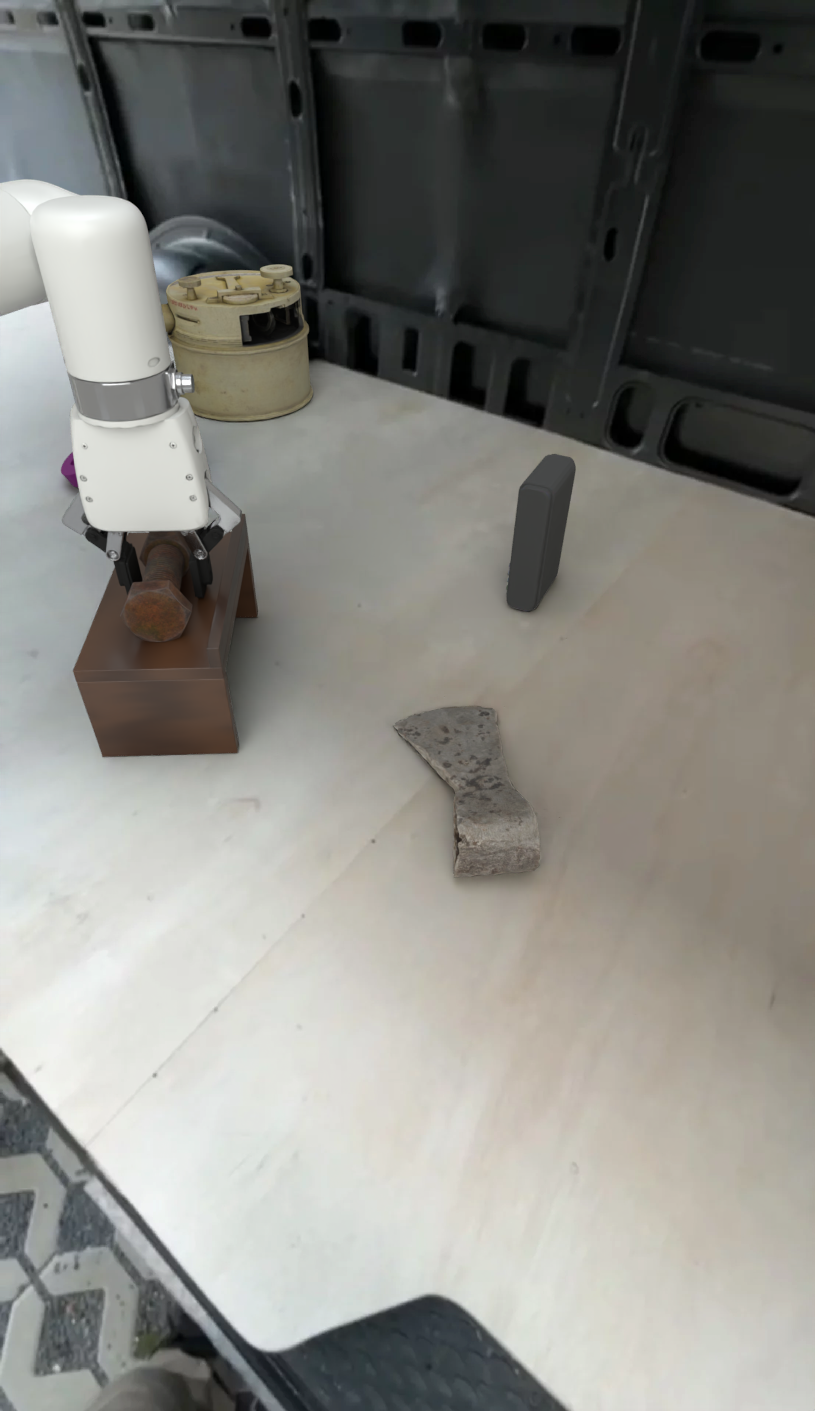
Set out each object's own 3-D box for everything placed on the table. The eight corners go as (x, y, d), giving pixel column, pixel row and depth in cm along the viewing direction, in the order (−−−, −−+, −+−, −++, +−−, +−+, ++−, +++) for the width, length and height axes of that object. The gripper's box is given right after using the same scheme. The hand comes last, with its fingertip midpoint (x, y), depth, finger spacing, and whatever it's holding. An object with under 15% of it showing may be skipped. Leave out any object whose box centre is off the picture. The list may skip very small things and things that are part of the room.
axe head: (389, 695, 74) (493, 685, 76) (390, 739, 77) (490, 729, 78) (430, 846, 57) (563, 829, 58) (430, 896, 60) (557, 879, 61)
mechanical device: (99, 386, 135) (67, 255, 122) (296, 366, 144) (287, 241, 131) (106, 439, 120) (71, 295, 106) (327, 413, 129) (320, 277, 115)
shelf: (102, 757, 71) (65, 651, 63) (148, 613, 87) (123, 514, 79) (237, 753, 71) (218, 648, 63) (258, 611, 88) (245, 513, 80)
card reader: (527, 567, 95) (544, 448, 85) (559, 576, 94) (580, 455, 84) (500, 606, 89) (514, 482, 79) (534, 616, 88) (553, 491, 78)
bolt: (186, 564, 79) (172, 653, 68) (136, 544, 77) (113, 632, 66) (208, 516, 76) (197, 601, 65) (156, 494, 74) (136, 578, 63)
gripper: (243, 372, 63) (266, 566, 76) (24, 372, 62) (83, 569, 75) (233, 409, 58) (260, 612, 70) (-7, 410, 57) (62, 616, 69)
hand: (168, 588), depth 72 cm, fingers closed on bolt, 5 cm apart
